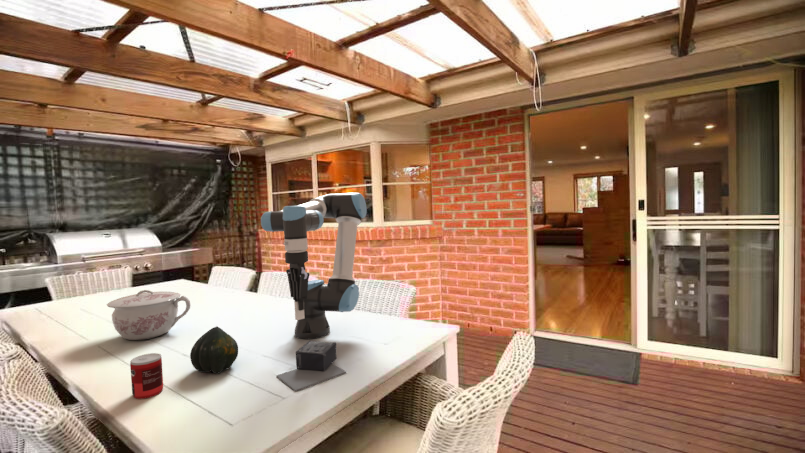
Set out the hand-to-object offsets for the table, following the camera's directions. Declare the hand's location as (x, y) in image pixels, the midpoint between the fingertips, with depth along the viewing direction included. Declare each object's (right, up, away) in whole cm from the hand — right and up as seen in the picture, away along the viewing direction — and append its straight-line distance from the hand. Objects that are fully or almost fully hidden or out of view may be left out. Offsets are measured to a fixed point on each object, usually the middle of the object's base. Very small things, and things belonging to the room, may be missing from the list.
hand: (299, 318), depth 128 cm
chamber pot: (-80, -18, +40) cm, 91 cm away
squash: (-30, -18, +2) cm, 35 cm away
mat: (+5, -17, -5) cm, 19 cm away
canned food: (-42, -19, -14) cm, 49 cm away
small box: (0, -13, +3) cm, 14 cm away
